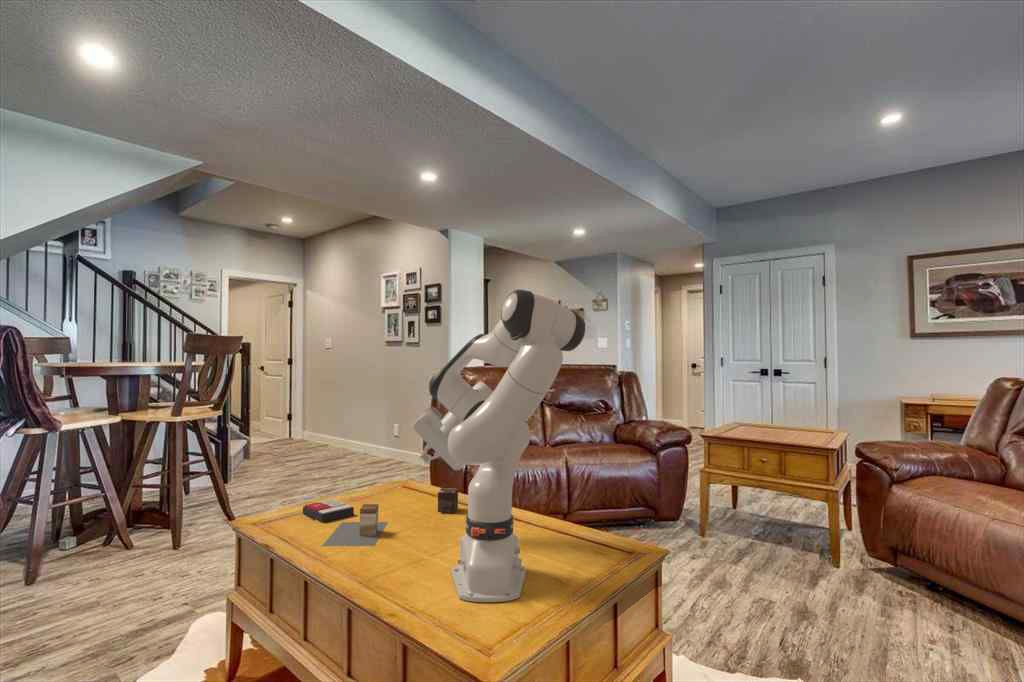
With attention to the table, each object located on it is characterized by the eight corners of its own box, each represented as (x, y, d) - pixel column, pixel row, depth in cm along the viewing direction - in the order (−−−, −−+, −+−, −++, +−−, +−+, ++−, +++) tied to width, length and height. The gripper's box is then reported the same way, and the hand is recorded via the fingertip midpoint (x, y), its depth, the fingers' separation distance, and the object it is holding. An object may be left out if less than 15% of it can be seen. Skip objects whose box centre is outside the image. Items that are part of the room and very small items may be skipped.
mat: (374, 547, 143) (374, 545, 143) (321, 548, 142) (321, 545, 142) (388, 523, 163) (388, 521, 163) (341, 524, 162) (341, 522, 162)
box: (458, 508, 180) (458, 488, 180) (454, 514, 174) (455, 492, 174) (441, 508, 180) (441, 487, 180) (437, 513, 174) (437, 491, 174)
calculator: (333, 497, 180) (354, 505, 169) (333, 510, 179) (354, 518, 169) (302, 504, 172) (322, 512, 161) (302, 517, 171) (322, 525, 161)
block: (374, 535, 151) (375, 508, 151) (359, 535, 150) (360, 508, 151) (378, 530, 155) (378, 504, 155) (363, 530, 155) (363, 504, 155)
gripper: (428, 402, 156) (397, 436, 155) (475, 448, 151) (443, 484, 149) (434, 404, 162) (404, 437, 161) (479, 449, 157) (449, 483, 156)
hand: (423, 460), depth 155 cm, fingers closed
